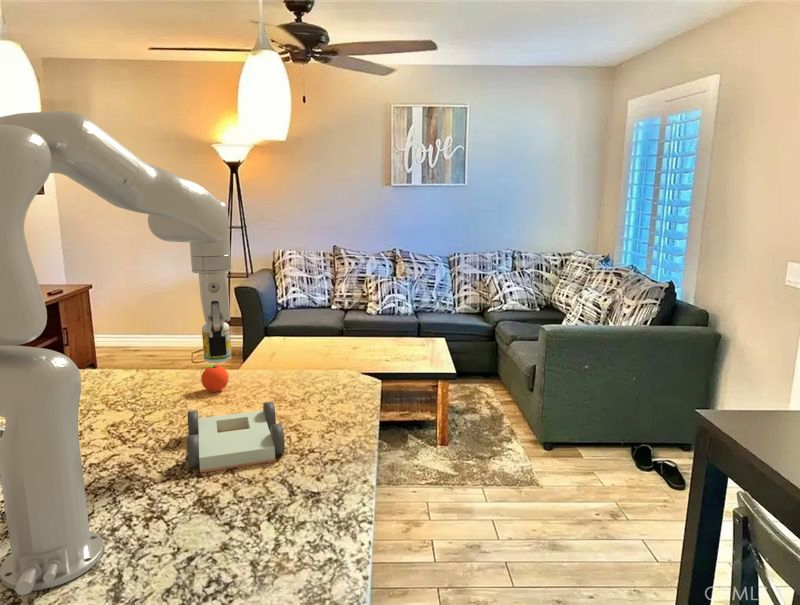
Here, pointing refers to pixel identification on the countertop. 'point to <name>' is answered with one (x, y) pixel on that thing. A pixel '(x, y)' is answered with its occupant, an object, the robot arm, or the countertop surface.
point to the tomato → (214, 378)
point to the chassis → (234, 439)
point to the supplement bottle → (206, 344)
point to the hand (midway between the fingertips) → (217, 350)
